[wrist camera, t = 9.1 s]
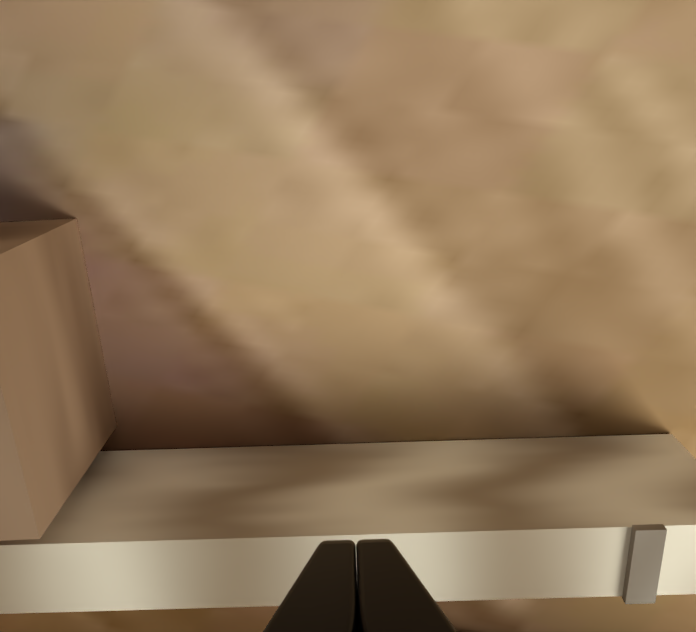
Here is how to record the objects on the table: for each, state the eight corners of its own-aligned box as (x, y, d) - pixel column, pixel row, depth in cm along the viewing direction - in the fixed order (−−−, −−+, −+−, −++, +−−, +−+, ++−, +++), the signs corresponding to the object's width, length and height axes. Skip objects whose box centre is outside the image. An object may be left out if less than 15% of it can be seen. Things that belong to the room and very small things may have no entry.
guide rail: (671, 432, 18) (762, 526, 14) (662, 494, 19) (746, 600, 15) (-156, 457, 18) (-294, 557, 14) (-135, 517, 19) (-262, 629, 15)
